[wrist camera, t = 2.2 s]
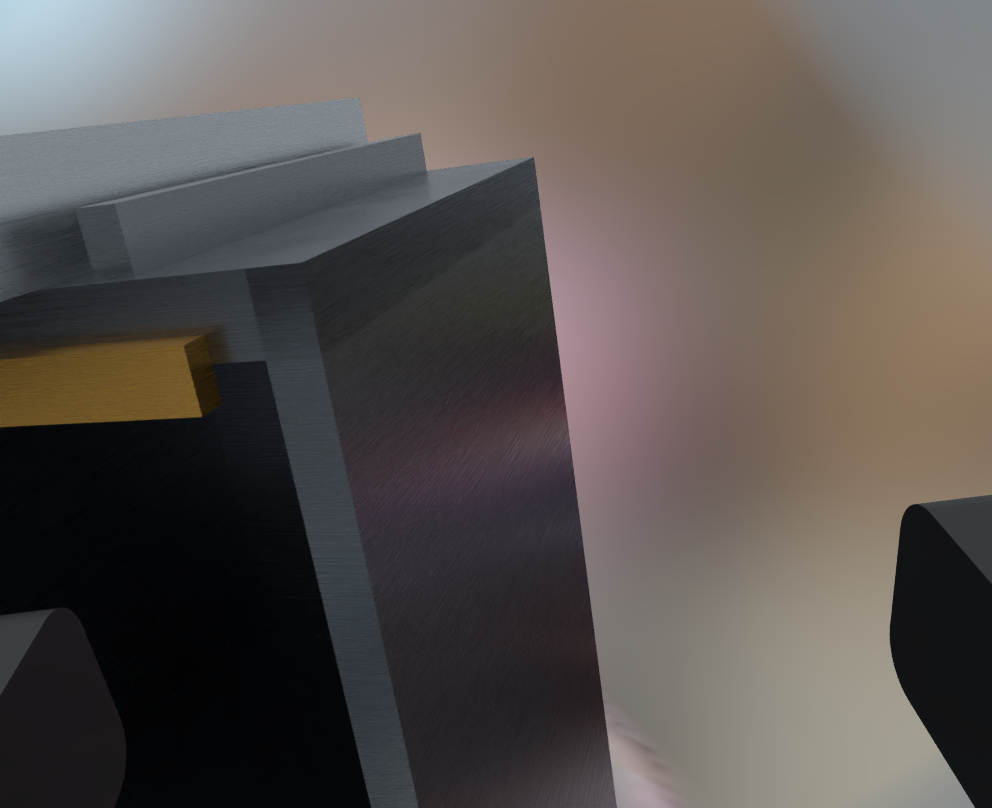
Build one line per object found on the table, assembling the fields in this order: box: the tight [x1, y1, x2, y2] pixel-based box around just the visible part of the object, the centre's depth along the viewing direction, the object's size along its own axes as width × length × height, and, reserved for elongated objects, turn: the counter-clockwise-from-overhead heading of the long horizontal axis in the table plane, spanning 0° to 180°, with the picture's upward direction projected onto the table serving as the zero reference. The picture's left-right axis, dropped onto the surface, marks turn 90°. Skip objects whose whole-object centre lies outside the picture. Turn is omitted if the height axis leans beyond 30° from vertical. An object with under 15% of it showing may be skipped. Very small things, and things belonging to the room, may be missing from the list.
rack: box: [0, 133, 617, 808], centre depth 28 cm, size 17×14×33 cm
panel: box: [0, 98, 368, 302], centre depth 18 cm, size 24×4×2 cm, turn 165°
